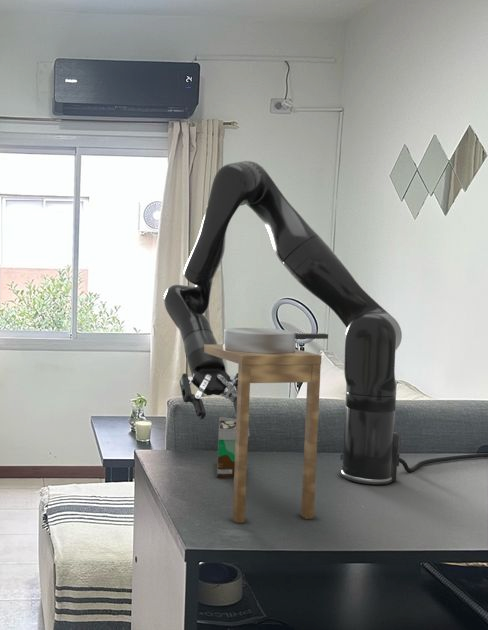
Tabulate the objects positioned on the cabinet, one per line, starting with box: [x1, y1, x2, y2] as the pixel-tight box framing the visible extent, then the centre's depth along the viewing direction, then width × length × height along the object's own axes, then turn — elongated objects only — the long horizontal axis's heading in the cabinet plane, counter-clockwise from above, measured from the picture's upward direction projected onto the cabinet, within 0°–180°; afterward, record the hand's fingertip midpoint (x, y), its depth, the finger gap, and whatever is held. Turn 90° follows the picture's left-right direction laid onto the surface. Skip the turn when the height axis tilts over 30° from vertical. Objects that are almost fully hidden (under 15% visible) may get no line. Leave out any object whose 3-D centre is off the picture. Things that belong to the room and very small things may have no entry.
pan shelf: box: [204, 327, 329, 524], centre depth 130 cm, size 20×16×31 cm
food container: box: [216, 416, 251, 479], centre depth 151 cm, size 12×6×10 cm, turn 168°
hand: (222, 416), depth 157 cm, fingers open, 8 cm apart
